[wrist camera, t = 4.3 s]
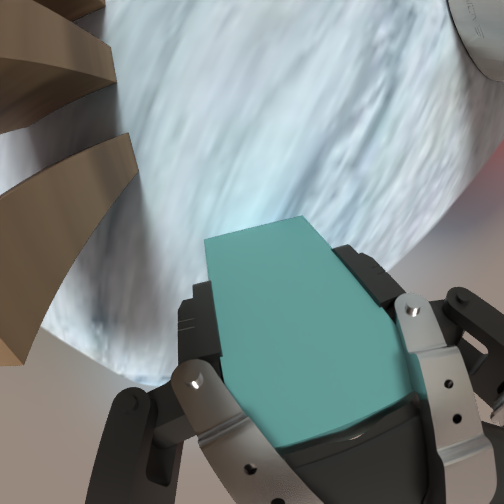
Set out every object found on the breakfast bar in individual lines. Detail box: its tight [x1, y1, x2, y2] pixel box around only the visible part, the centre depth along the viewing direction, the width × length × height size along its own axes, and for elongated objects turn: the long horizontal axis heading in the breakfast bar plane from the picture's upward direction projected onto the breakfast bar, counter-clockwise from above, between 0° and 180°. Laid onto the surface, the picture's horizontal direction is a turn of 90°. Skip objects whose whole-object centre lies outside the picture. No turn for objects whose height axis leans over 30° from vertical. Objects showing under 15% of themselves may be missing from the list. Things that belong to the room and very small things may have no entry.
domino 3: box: [0, 133, 139, 366], centre depth 6 cm, size 5×2×10 cm, turn 100°
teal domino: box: [204, 216, 416, 461], centre depth 9 cm, size 5×2×10 cm, turn 100°
